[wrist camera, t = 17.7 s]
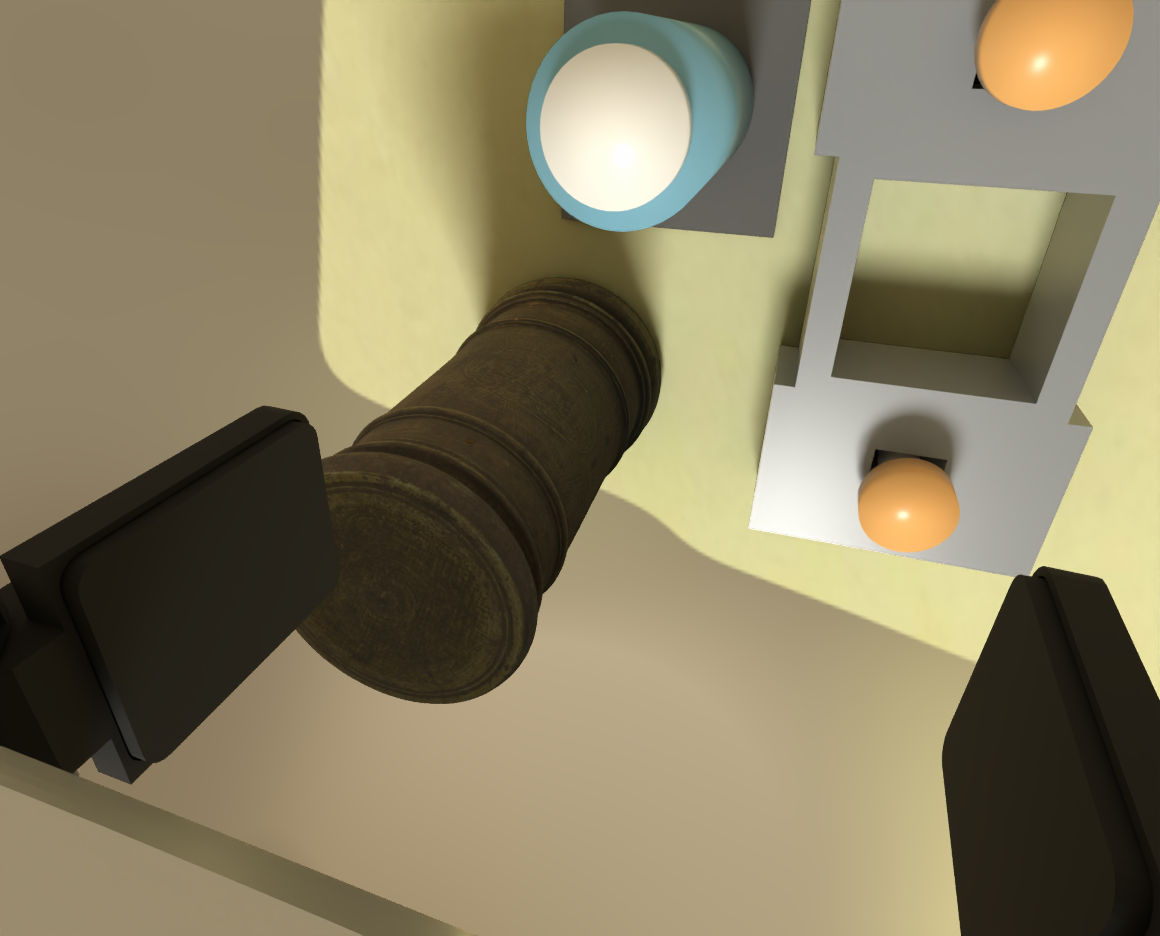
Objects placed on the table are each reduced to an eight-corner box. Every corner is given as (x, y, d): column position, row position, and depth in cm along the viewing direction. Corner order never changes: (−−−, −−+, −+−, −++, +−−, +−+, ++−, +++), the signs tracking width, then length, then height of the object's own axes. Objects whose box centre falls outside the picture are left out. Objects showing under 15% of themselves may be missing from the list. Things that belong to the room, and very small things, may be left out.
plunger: (1082, -19, 23) (1157, -41, 18) (1044, 101, 24) (1102, 114, 19) (965, -21, 24) (1004, -41, 18) (937, 96, 25) (965, 107, 20)
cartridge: (764, 25, 26) (729, 11, 17) (743, 185, 29) (703, 246, 20) (618, 22, 27) (512, 8, 18) (611, 175, 30) (517, 228, 21)
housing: (1240, -85, 22) (1328, -115, 18) (1004, 518, 33) (1027, 579, 29) (855, -82, 24) (860, -107, 20) (756, 477, 35) (748, 528, 31)
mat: (816, -31, 25) (815, -32, 25) (773, 235, 30) (773, 237, 29) (568, -32, 27) (564, -33, 27) (564, 217, 32) (561, 218, 31)
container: (480, 267, 34) (208, 436, 19) (669, 283, 32) (530, 488, 17) (491, 436, 38) (278, 681, 23) (657, 460, 36) (539, 747, 21)
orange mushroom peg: (947, 409, 30) (972, 482, 25) (925, 478, 32) (944, 560, 27) (862, 398, 31) (870, 466, 26) (845, 466, 33) (849, 542, 28)
